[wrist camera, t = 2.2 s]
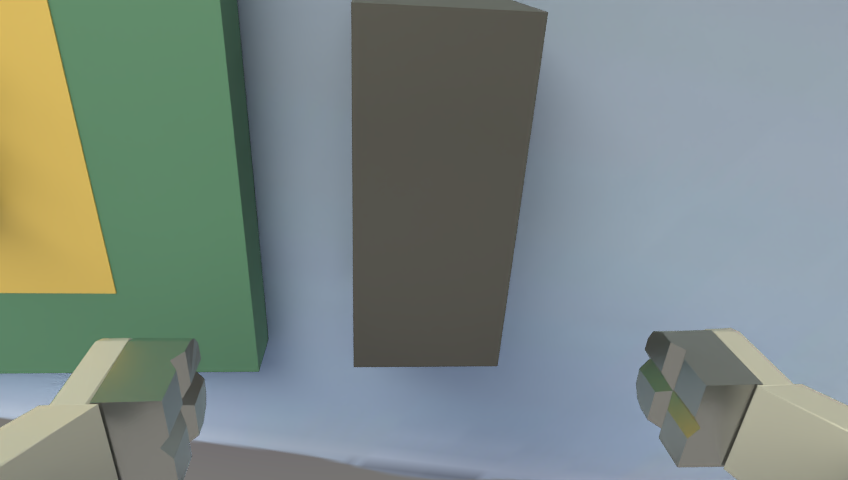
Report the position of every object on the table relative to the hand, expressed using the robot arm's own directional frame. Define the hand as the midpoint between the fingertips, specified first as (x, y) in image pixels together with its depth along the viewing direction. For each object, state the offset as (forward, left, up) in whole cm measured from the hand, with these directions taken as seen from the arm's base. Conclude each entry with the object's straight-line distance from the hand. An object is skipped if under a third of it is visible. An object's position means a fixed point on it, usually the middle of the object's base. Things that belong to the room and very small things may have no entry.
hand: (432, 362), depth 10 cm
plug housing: (-1, 0, -11) cm, 11 cm away
